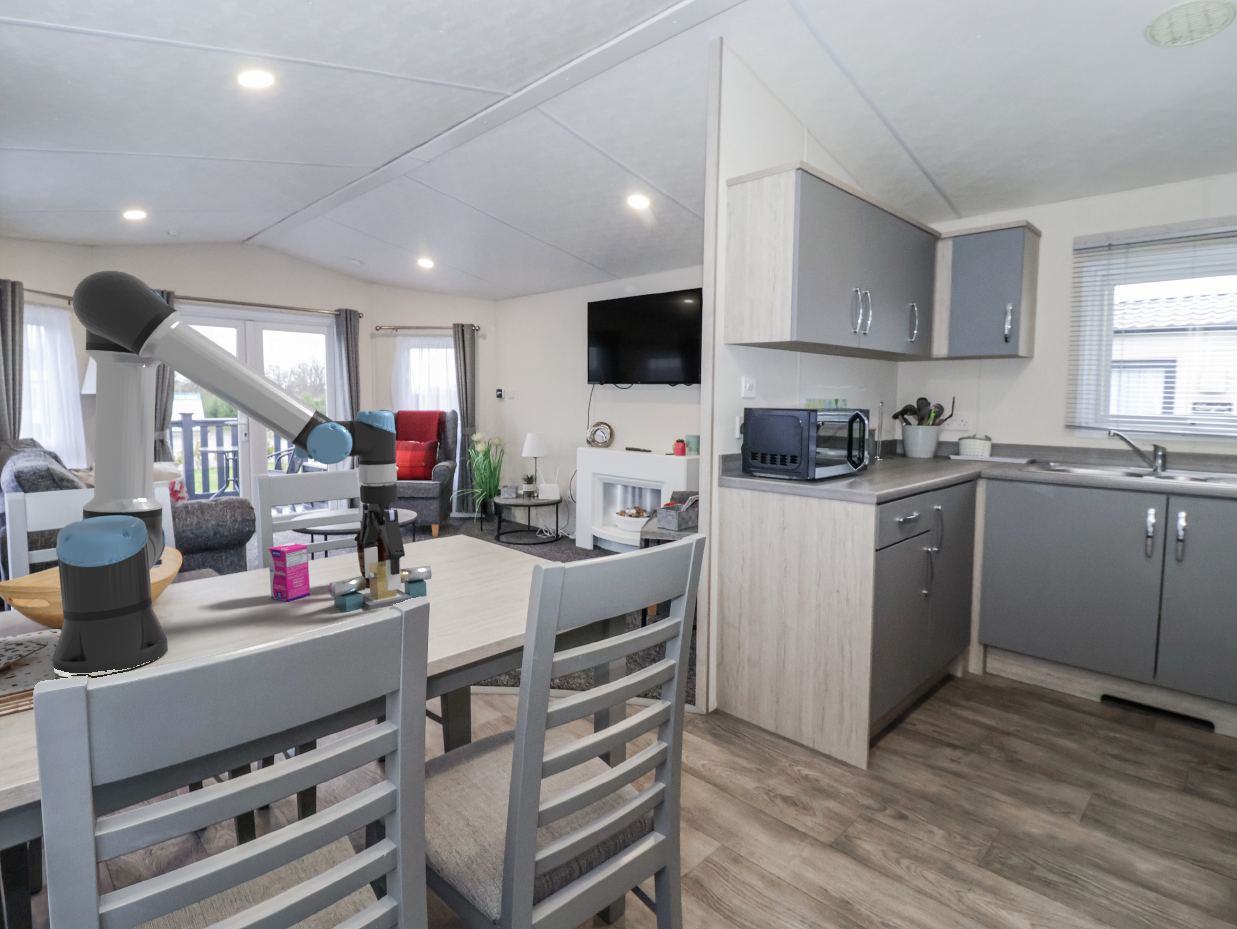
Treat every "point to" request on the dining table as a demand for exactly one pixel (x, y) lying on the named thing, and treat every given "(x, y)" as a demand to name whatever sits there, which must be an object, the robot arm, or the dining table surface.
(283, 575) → the supplement box
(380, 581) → the block
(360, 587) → the shaft
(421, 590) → the shaft
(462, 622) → the dining table surface
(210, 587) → the dining table surface
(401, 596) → the cradle
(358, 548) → the coffee cup
